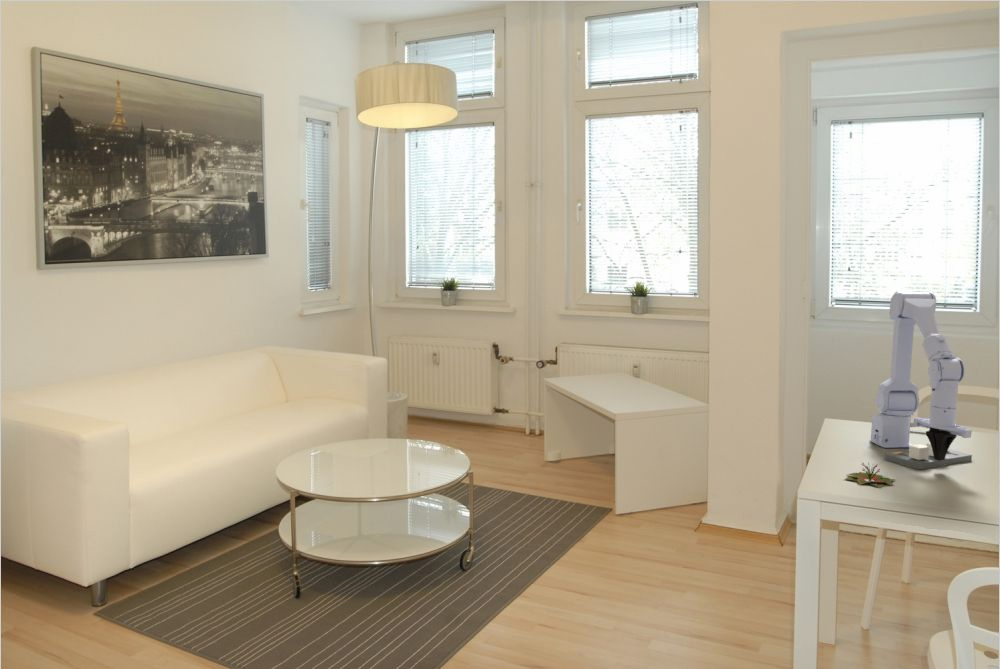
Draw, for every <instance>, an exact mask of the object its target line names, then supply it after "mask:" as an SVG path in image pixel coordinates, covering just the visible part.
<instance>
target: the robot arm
mask: <svg viewBox="0 0 1000 669" xmlns="http://www.w3.org/2000/svg"><path fill="white" fill-rule="evenodd" d="M936 308H937V298H936V295H935V294H934V292H932V291H900V290H899V291H895V292H894V294H893V295H892V296H891V298H890V303H889V319H890V320H891V321H894V322H893V323H894V324H893V335H892V336H893V338H892V349H891V350H892V351H891V353H892V354H891V366H890V377H889V378H887V379H885V380H884V381H882V382H881V383H880V384H879V386H878V392H877V394H876V398H875V401H876V407H877V409H878V410H879V411H880V412H881V413H876V414H874V415H873V416H872V420H871V428H870V429H871V431H870V439H869V440H868V441H869V442H871V443H873V444H875V445H877V446H879V447H881V448H884V449H885V448H886V449H887V448H888V449H891V448H895V449H896V448H909V446H910V445H914V443H911V442H910V433H911V427H910V422H912V421H911V420H912V419H911V418H912V416H914V414H915V413H916V412H917V411H918V409H919V406H920V396H919V387H918V386H917V385H916V384H915V383H914V382H912V380H911V373H912V372H911V370H912V369H911V368H912V357H913V345H914V344H913V343H914V330H915V329H914V328H915V326H914V325H917V326H918V329H919V331H920V332H921V334H922V335H923V338H924V340H923V342H922V347H923V350H924V353H925V356H926V358H927V360H928V362H929V366H928V370H927V372H928V376H929V387H930V388H931V394H930V406H929V407H930V408H929V418H923V417H914V418H913V422H914V426H919V427H921V428H926V429H929V430H927V431H925V435H926V437H927V438H928V441H929V443H931V446H932V450H933V455H934V459H935V460H938V461H940V460H944V459H945V456H946V453H947V451H948V449H950V446H951V444H952V443H953V442H954V440H955V439H956V438H957V436H959V437H962V438H963V439H969V438H972V429H970V428H966V427H964V426H962V425H958V424H956V417H957V403H958V391H959V383H960V382H961V381H963V379H964V375H965V365H964V363H963V360H962V359H961V358H959V357H958V356H957V355H955V354H954V353H953V351H952V348H951V346H950V343H949V341H948V339H947V337H946V336H945V335H943V334H941V333H940V331H939V328H938V323H937V319H936V317H935V312H936Z"/></svg>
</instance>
